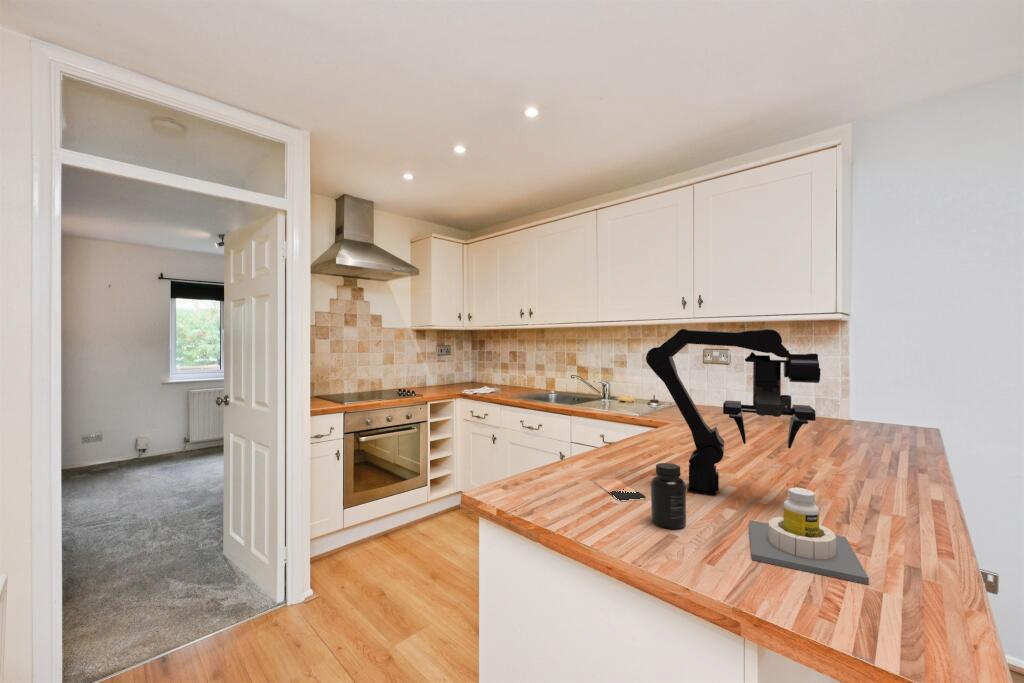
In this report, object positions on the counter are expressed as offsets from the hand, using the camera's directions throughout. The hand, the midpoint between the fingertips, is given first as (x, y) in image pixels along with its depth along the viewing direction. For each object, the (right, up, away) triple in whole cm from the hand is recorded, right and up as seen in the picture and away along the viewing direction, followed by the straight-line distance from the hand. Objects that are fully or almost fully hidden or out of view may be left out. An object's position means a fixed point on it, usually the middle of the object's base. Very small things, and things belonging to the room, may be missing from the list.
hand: (766, 445), depth 102 cm
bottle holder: (-9, -13, -25) cm, 29 cm away
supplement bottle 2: (-8, -12, -25) cm, 29 cm away
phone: (-34, -13, +6) cm, 37 cm away
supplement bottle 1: (-28, -13, -13) cm, 34 cm away
